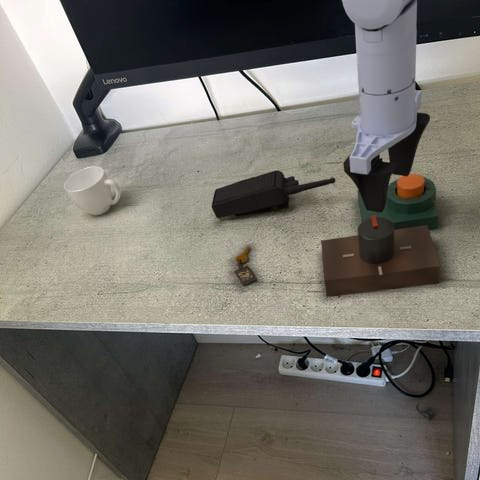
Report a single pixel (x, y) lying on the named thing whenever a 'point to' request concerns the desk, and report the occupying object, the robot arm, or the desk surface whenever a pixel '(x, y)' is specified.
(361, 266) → the lock panel
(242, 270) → the key tag
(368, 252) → the knob
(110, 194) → the cup
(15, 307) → the desk surface
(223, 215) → the walkie-talkie
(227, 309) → the desk surface
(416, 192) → the button
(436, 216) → the button block
